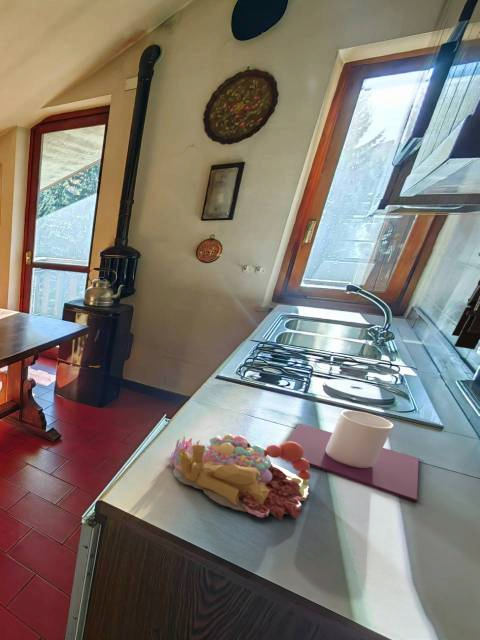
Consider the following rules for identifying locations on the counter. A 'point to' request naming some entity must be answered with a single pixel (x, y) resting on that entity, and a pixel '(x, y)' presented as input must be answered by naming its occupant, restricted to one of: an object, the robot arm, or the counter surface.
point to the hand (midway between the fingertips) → (462, 341)
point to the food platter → (244, 474)
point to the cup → (358, 438)
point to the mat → (386, 474)
